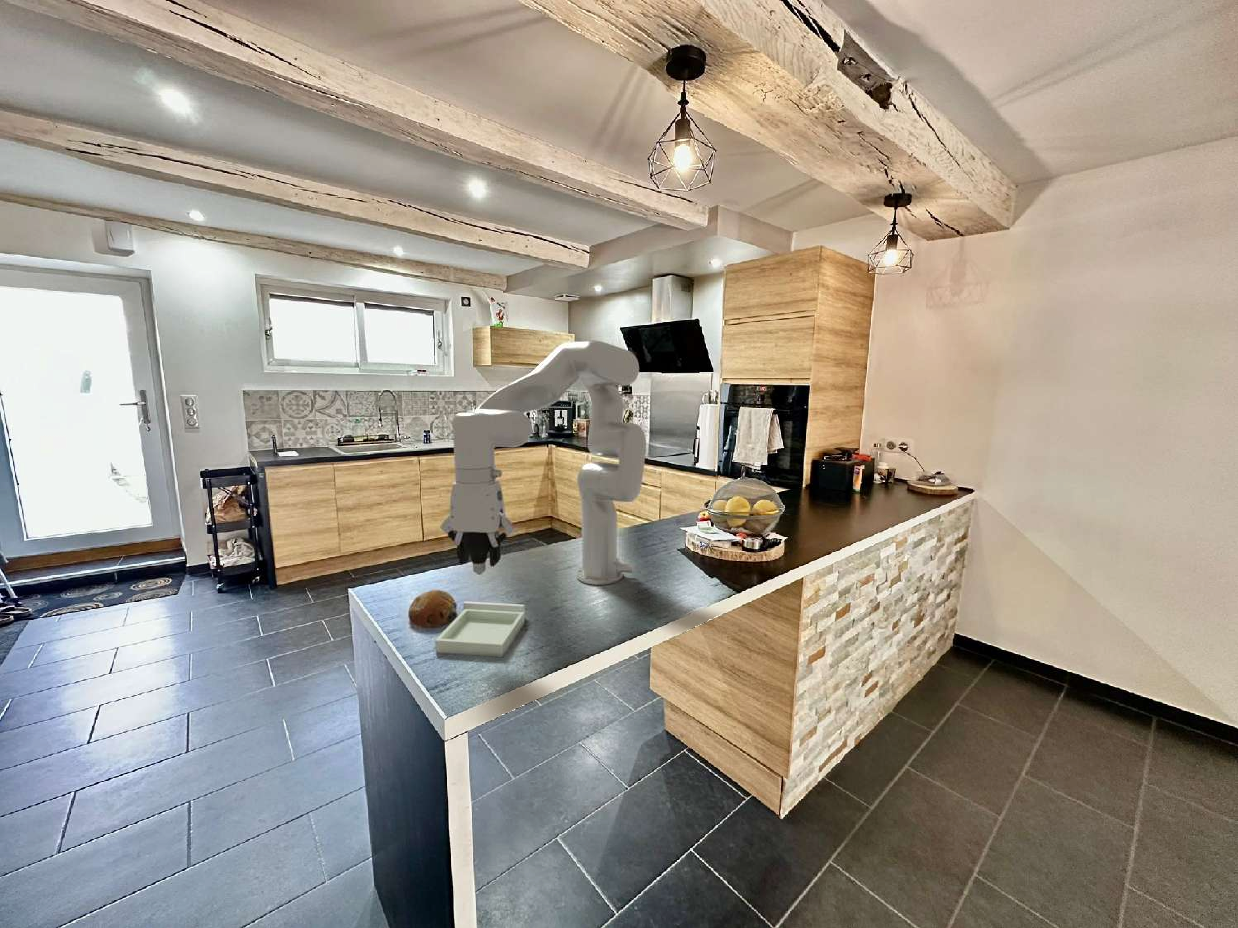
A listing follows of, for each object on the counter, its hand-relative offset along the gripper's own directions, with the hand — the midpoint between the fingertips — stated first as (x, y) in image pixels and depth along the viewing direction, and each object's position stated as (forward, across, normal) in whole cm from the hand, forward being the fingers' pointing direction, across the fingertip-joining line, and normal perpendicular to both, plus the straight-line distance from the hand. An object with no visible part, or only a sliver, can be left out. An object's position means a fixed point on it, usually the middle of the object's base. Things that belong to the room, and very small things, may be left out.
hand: (479, 562), depth 98 cm
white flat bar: (+16, +1, -9) cm, 19 cm away
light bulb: (+3, 0, 0) cm, 3 cm away
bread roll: (+17, +14, -7) cm, 23 cm away
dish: (+16, 0, 0) cm, 16 cm away
